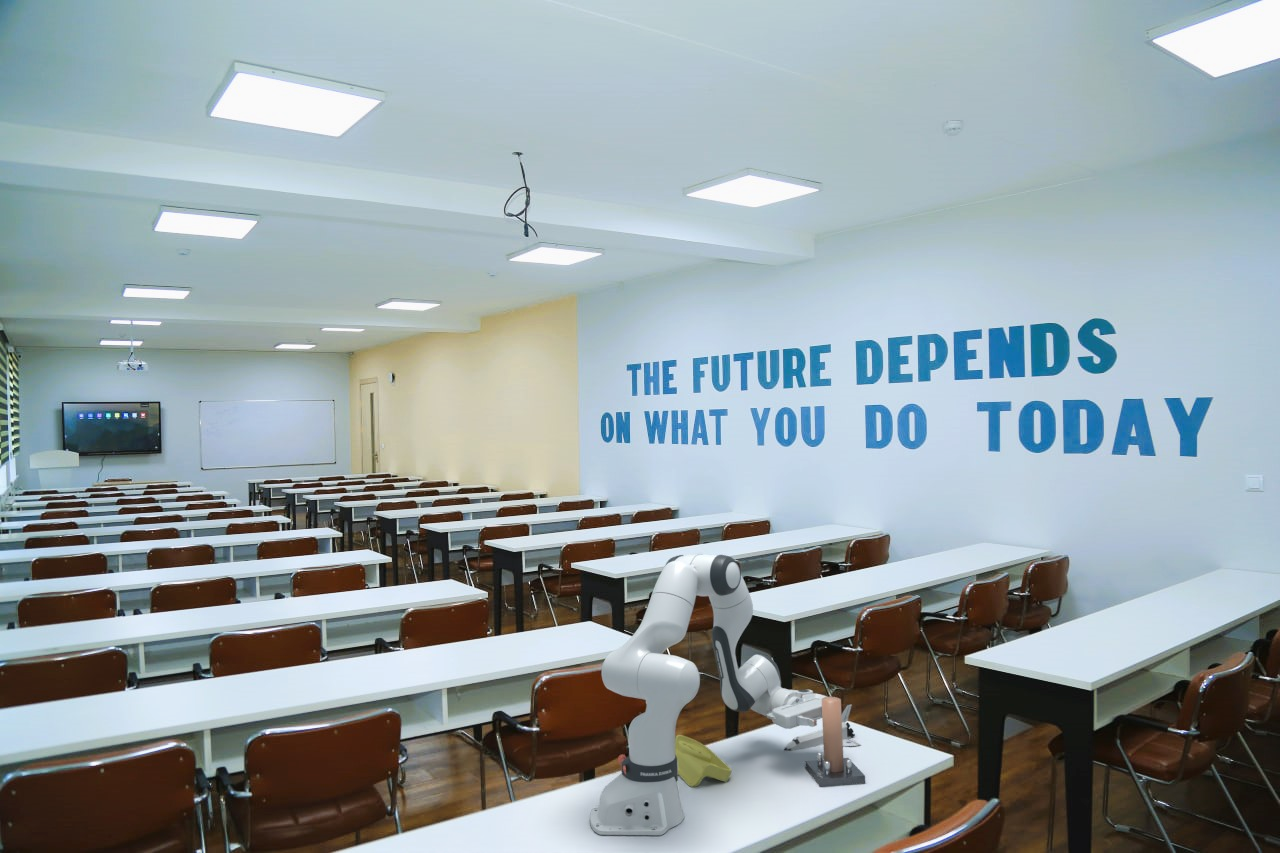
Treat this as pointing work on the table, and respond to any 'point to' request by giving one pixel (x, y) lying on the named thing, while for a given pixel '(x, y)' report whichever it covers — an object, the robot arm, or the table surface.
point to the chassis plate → (834, 773)
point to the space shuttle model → (817, 736)
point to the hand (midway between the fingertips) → (827, 719)
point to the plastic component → (698, 762)
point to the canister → (832, 733)
